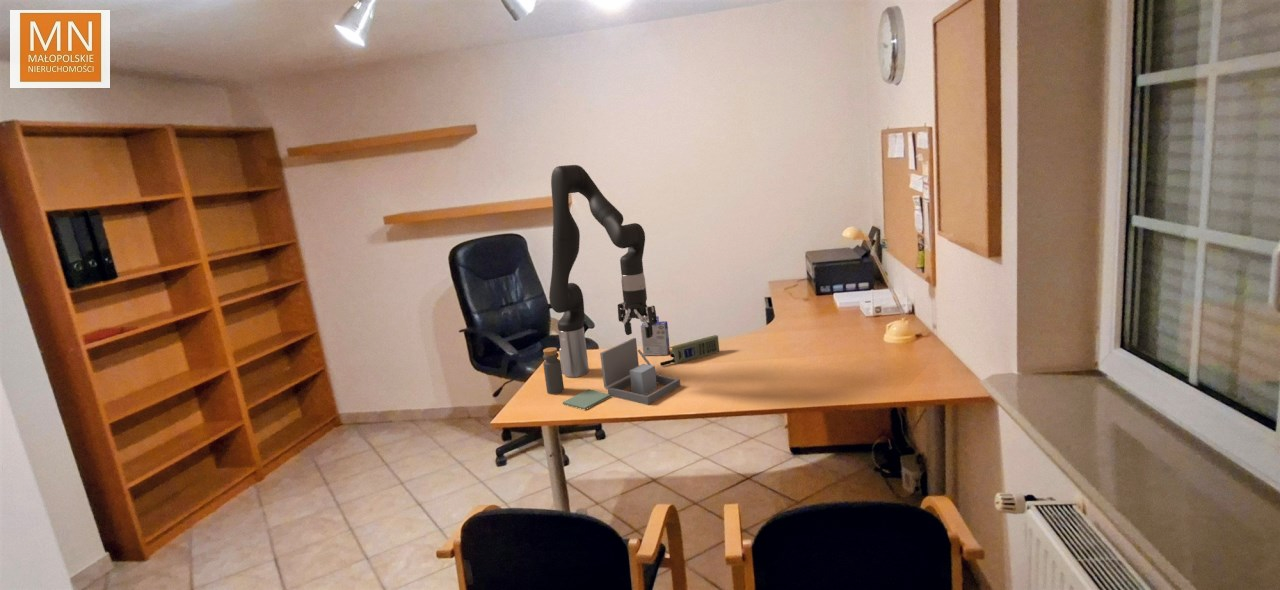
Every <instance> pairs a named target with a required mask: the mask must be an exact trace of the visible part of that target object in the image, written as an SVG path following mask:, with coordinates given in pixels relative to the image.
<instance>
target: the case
mask: <svg viewBox="0 0 1280 590" xmlns="http://www.w3.org/2000/svg"><path fill="white" fill-rule="evenodd" d="M637 346H638V344H637V338H636V337H633V338H630V339H629V340H627V341H624V342H622V343H619V344H617V345H614V346H612V347H610V348H608V349H606V350H603V351H602V352H600V353H599V355H600V362H601V371H602V381H603V387H604V388H605V390H607V394H610V395H611V397H613V398H618V399H621V398H622V399H621V400H627V401H631V402H635V403H638V404H643V405H647V406H649V405H652V403H655V402H656V401H658V400H659V399H661V398H663V397H664V396H666V395H668V394H670V393H672V392H673V391H675V390H677V389H678V388H680V387H681V379H680V378H675V377H672V376H665V375H660V373H658V372H657V371H656V370H655V373H656V383H657V384H661V385H664V386H662V387H660V388H657V389H656V390H654V391H652V392H650V393H648V394H646V395H642V394H637V393H633V392H632V391H627V390H625V389H626V388H629V387H631V379H630V370H632V369H634V368H636V367H638V366H640V365H639V355H638V353H639V354H640V356H641V357H642V359H643V360H644V362H646V363H645V364H647V365H652V364H651V362H650V361H649V360H648V359H647V356H644V355H643V351H641V349H638V347H637Z"/></svg>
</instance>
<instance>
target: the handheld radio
mask: <svg viewBox="0 0 1280 590" xmlns="http://www.w3.org/2000/svg"><path fill="white" fill-rule="evenodd" d="M670 352H671V353H670V357H671V358H672V359H670V360H669V359H668V360H665V361H662V362H660V364H659V365H660V366H661V367H662V366H667V365H670V364H675V365H678V364H681V362H682V363H685V362H688V361H689V362H690V361H692V359H693V360H696V359H700V358H702V357H703V356H704V357H707V356H711V355H714V354H713V353H715V354H717V353H720V343H719V335H717V334H713V335H710V336H707V337H703V338H699V339H696V340H695V339H694V340H690V341H687V342H684V343H680V344H675V345H672V346H670ZM710 354H711V355H710ZM706 355H707V356H706ZM699 357H700V358H699Z"/></svg>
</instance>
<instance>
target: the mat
mask: <svg viewBox="0 0 1280 590" xmlns="http://www.w3.org/2000/svg"><path fill="white" fill-rule="evenodd" d="M611 397H612V396H611V395H610V394H608V393H605V392H601V391H598V390H594V389H593V390H592V389H588V388H587V389H586V390H585V391H582V392H580V393H578V394H576V395H574V396H572V397H570V398H568V399H566V400H563V401H562V405H563V404H564V406H567V405H568V406H567V407H571V406H573V407H572V408H574V407H577V408H576V409H578V408H581V409H580V410H582V409H586V410H588V409H590V408H592V407H593V406H592V405H594V406H596V405H598V404H600V403H601V402H603V400H604V401H605V400H607V399H609V398H611ZM599 402H600V403H599ZM597 403H598V404H597ZM595 404H596V405H595ZM591 406H592V407H591ZM589 407H590V408H589ZM587 408H588V409H587Z"/></svg>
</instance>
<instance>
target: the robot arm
mask: <svg viewBox="0 0 1280 590" xmlns="http://www.w3.org/2000/svg"><path fill="white" fill-rule="evenodd" d="M550 178H551V179H550V181H551V182H550V187H551V199H552V218H553V219H552V266H551V277H550V286H549V304H550V307H551V308H552V311H554V312H555V313H557V314H560V313H561V314H562V313H563V315H562V316H561V318H560V319H559V320H558V321H557V331H558V332H557V333H558V339H559V346H560V348H559V350H558V352H559V353H558V354H559V358H560V359H559V360H560V362H561V369H562V375H564V376H565V377H566V378H578V377H583V376H585V375H587V374H588V373H589V372H590V368H589V360H588V352H587V342H586V335H585V326H584V320H585V316H586V315H585V301H584V294H583V291H582V289H581V287H580V286H579V285H578V284H577V283H574V282H569V280H570V279H569V278H570V274H571V271H572V268H573V267H574V265H575V262H576V260H577V258H578V256H579V253H580V242H581V241H580V240H581V239H580V237H581V236H580V229H579V226H578V224H577V222H576V221H575V219H574V217H573V215H572V213H571V210H570V203H569V202H570V201H569V200H570V199H569V198H570V194H576V193H579V194H580V195H582V196H583V197H585V199H587V201H588V204H589V205H588V206H589V210H590V213H591V215H592V216H593V218H594V219H595V220H596V221H597V222H598V223H599V224H600V225H601V226H602V227H603V228H604V229H605V231H606V233H607V235H608V237H609V238H610V241H611V242H612V244H613V245H614V246H615V247H617V248H619V249H627V252H626V253H625V254H624V255H622V256H621V257H620V260H619V261H620V262H619V263H620V266H619V267H620V273H621V278H620V279H621V280H620V281H621V282H620V283H621V290H622V299H623V302H621V303H619V304H617V315H618V321H619V322H620V323H621V322H622V324H623V325H624V326H623V327H624V333H625V335H626V336H630V335H631V334H633V331H632V330H633V329H632V322H631V321H632V319H636V320H639V321H640V322H642V324H643V323H644V324H645V326H646V327H645V331H646V338H650V337H652V335H653V331H652V325H654V324H657V318H656V316H657V312H656V306H655V305H650V306H648V305H647V299H648V296H647V285H646V278H645V274H644V265H643V257H644V250H645V243H646V232H645V230H644V228H643V227H642V225H641V224H639V223H634V222H633V223H628V224H624V225H623V223H624V216H623V214H622V213H621V212H620V211H619V210H618V209H617V207H616V206H614V205H613V204H612V203H611V202H610V200H608V199H607V198H606V197H605V196H604V194H603V193H602V192H601V190H600V189H599V188H598V186H597V185H596V183H595V181H593V179H592V178H591V176H590V174H589V173H587V171H586V170H585V169H584V168H583V167H582V166H581V165H578V164H569V165H566V164H565V165H559V166H558V165H557V166H555V167H554V169H553V170H552V172H551V177H550Z"/></svg>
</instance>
